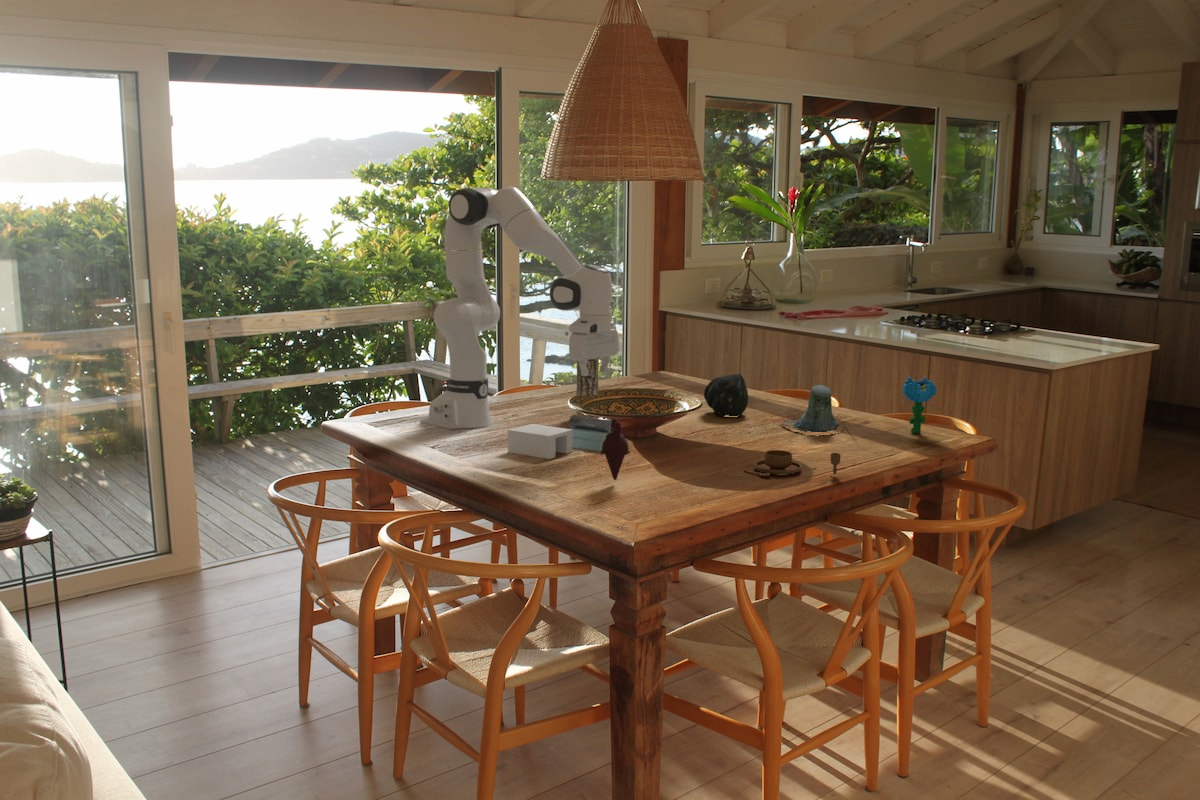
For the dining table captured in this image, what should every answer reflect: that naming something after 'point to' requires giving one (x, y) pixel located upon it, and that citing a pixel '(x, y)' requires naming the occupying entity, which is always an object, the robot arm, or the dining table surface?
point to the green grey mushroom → (817, 412)
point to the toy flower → (918, 399)
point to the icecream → (615, 448)
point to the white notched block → (540, 440)
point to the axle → (590, 423)
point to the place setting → (785, 463)
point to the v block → (588, 439)
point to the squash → (727, 395)
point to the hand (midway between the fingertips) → (594, 373)
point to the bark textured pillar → (588, 380)
